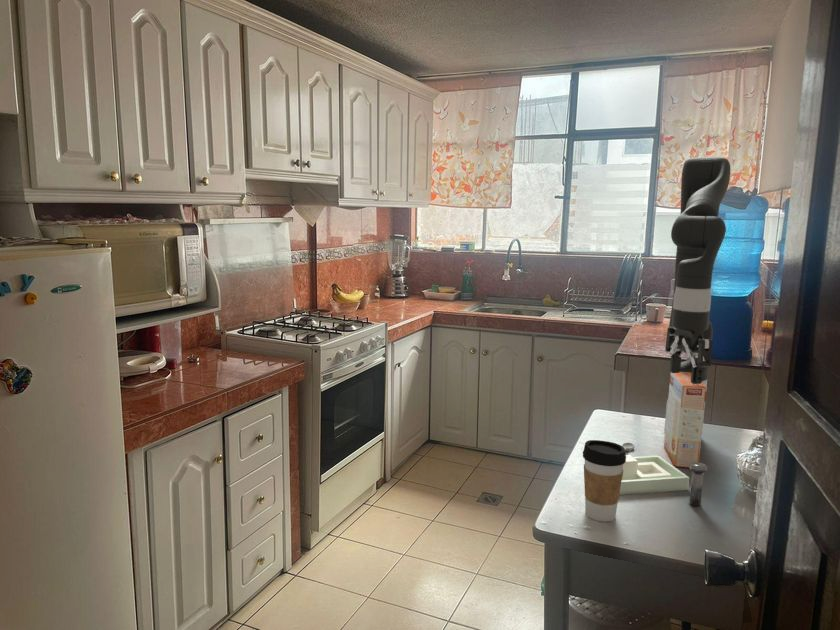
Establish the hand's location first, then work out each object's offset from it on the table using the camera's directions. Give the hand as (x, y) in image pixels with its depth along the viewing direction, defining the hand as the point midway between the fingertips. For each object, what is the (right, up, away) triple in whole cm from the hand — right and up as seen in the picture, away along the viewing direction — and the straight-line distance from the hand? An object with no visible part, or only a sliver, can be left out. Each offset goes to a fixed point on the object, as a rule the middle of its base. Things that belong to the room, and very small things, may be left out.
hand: (685, 377), depth 138 cm
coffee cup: (-23, -27, -13) cm, 38 cm away
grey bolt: (-1, -26, -8) cm, 28 cm away
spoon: (-8, -22, +19) cm, 30 cm away
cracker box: (+6, -22, +17) cm, 29 cm away
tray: (-9, -24, +4) cm, 26 cm away
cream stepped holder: (-10, -24, +3) cm, 26 cm away
